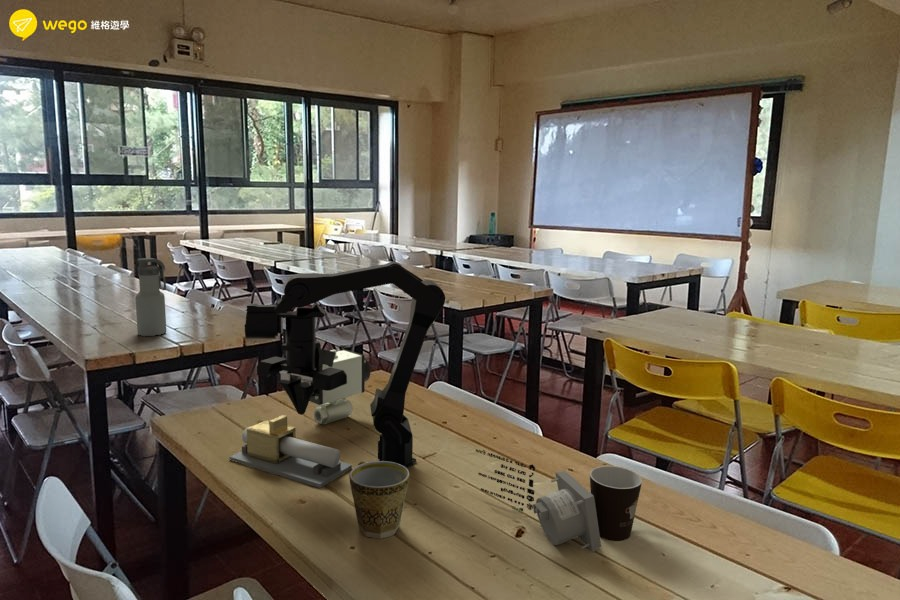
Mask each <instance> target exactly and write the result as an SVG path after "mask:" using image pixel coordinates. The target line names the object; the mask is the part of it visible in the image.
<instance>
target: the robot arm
mask: <svg viewBox="0 0 900 600" xmlns="http://www.w3.org/2000/svg"><path fill="white" fill-rule="evenodd" d="M389 284H390V285H394V286H395V287H397V288H399V290H401V291H402V292H404V293H405V294H407V296H408V297H410V298H411V304H410V312H409V321H408V324H407V327H406V329H405V333H404V336H403V339H402V341H401V345H400V348H399V350H398V352H397V357H396V359H395V362H394V364H393V368H392V371H391V373H390V376H389V379H388V382H387V384H386V385H385V387H384V388H383V389H380V388H375V394H374V399H373V400H372V402H371V403H370V406H369V407H370V414H371V417H372V422H373V423H372V424H373V427H374V429H375V430H376V431H377V432H378V433H379V440H378V441H377V459H378V461H388V462H394V463H397V464H400V465H402V466H404V467H405V468H407V469H408V468H409V467H411V466H412V465H413V464H415V463H416V462H417V458H416V457H415V458H414V457H413V447H414V446H413V445H414V444H413V442H414V441H413V440H414V439H413V438H414V437H413V432H412V428H411V425H410V421H409V418H408V417H407V416H406V415H404V412H405V402H406V400H405V399H406V393H407V390H408V387H409V385H410V382H411V378H412V375H413V373H414V370H415V367H416V364H417V362H418V358H419V356H420V353H421V350H422V348H423V344H424V342H425V339H426V337H427V333H428V330H429V329H430V327H431V326H432V325H433V324H434V322H435V321H436V319H438V316H439V315H440V313H441V312H442V309H443V307H444V306H445V304H446V296H445V293H444V291H443V289H442V288H441V287H440V286H439V284H438V283H436V282H435V281H433V280H429V279H426V280H425V279H424V280H423V279H422V278H421V277H419V276H418V275H416V274H414V273H413V272H412V271H410V270H408V269H406V268H405V267H404V266H403V265H402V264H400V263H399V262H398V261H389V262H387V263H383V264H380V265H373V266H367V267H362V268H355V269H352V270H351V269H350V270H346V271H345V270H344V271H341V272H334V273H317V272H312V273H310V272H308V273H306V272H304V273H303V272H301V273H296V274H293V275H292V276H291V277H290V278H289V279H288V280H287V282H286V284H285V286H284V290H283V293H284V294H283V296H282V297H281V298H278V300H277V302H276V304H258V303H248V304H247V305H246V314H245V322H244V337H245V339H246V340H277V337H278V336H279V335H281V334H283V330H284V329H283V327H284V325H283V323H284V319H283V318H285V343H282V344H281V346H280V347H281V350H282V351H285V358H284V357H280V356H272V357H269V358H267V359H262V360H260V361H259V362H258V363H257V365H256V376H259V377H262V378H263V377H264V378H269V377H270V376H271V375H272V372H274V373H278V374H280V379H279V380H278V381H277V382H278V384H279V385H280V386H281V387H282V388H283V390H284V391H285V393H286V394H287V396H288V398H289V399H290V401H291V403H292V405H293V407H294V409H295V411H296V413H297V414H298V415H301V416H302V415H304V414H305V413H306V411H307V408H308V406H309V403H310V401H309V400H310V397H311V395H312V393H313V391H314V389H315V388H316V389H321V390H325V391H330V390H333V389H335V388H338V387H340V386H342V385H345V384H347V374H346V373H345V371H344V370H340V369H335V368H327V369H324V370H322V371H317V370H316V368H321V367H323V364H324V365H328V366H330V367H333V362H334V358H335V353H336V352H337V351H336V352H332V351H330V350H325V349H323V348H322V347H321V346H322V345H321V342H320V341H316V340H317V339H316V318H324V317H325V316H326V315H325V314H326V310H324V309H323V308H322V307H320V305H319V304H318V302H320V301H322V300H325V299H327V298H329V297H331V296H333V295H337V294H338V295H339V294H343V293H348V292H354V291H358V290H364V289H370V288H375V287H381V286H386V285H389ZM312 304H314V305H313V306H311V307H310V306H309V305H312ZM294 308H297V309H296V310H293V309H294ZM291 310H292V311H291ZM307 373H308V374H307Z"/></svg>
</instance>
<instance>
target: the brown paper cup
mask: <svg viewBox="0 0 900 600" xmlns="http://www.w3.org/2000/svg"><path fill="white" fill-rule="evenodd" d="M589 484H590V485H589V487H590V493H591V494H592V495H593V496H594V500H595V507H596V513H597V520H598V527H599V534H600V539H603V540H607V541H611V542H622V541H626V540H628V539H629V538H630V537H631V534H632V531H633V530H632V529H633V525H634V521H635V515H636V511H637V506H638V502H639V497H640V494H641V488H642V484H643V478H642V476H640V475H639V473H637V472H636V471H634V470H632V469H628V468H626V467H622V466H618V465H616V466H615V465H602V466H601V465H600V466H597V467H594V468H592V469H591V470H590V472H589Z"/></svg>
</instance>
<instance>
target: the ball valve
mask: <svg viewBox="0 0 900 600" xmlns="http://www.w3.org/2000/svg"><path fill="white" fill-rule="evenodd" d="M329 351H332V352H336V353H335V358H334V362H333V367H330V366H328V365H324V364H323V367H321V368H316V370H317V371H322V370H324V369H327V368H335V369H340V370H344V371H345V373H346V374H347V384H345V385H342V386H340V387H338V388H335V389H333V390H330V391H325V390H321V389H316V388H315V389H314V391H313V393H312V395H311V397H310V400H309V403H313V404H315V405H316V406H315V407H316V408H315V409H314V411H313V419H314V420H315V422H316V423H317V424H321V425H322V424H323V425H327V424H330V423H333V422H337V421H339V420H344V419H346V418H348V417H349V416H351V415H352V414H353V411H354V408H353V403H352V401H350V400H348V399H347V398H350V397H352V396H355V395H361V394H363V393H365V391H366V390H365V388H366V382H367V381H369V379H370V377H371V366H370V363H369V362H368V360H367V359H366V358H365V354H362V353H359V352H355V351H352V350H349V349H343V350H339V351H338V350H336V349H332V350H331V349H330V350H329ZM307 374H308V373H307Z"/></svg>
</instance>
